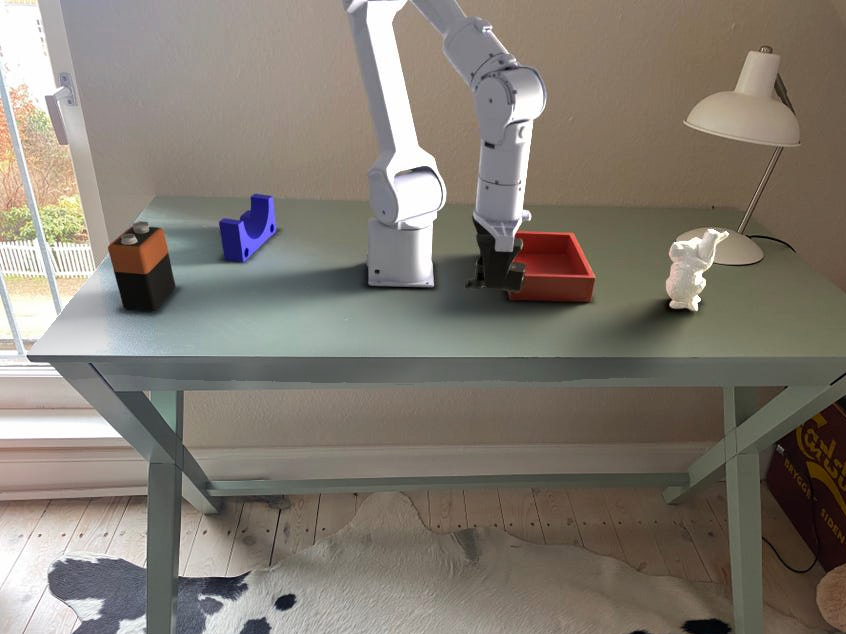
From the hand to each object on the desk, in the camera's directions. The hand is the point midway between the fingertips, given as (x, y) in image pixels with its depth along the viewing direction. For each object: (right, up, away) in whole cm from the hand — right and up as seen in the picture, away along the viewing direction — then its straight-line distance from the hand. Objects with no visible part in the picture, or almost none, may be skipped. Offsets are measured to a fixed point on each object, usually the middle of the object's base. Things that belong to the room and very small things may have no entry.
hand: (491, 278), depth 87 cm
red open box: (+8, +2, +16) cm, 18 cm away
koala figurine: (+29, -3, +12) cm, 31 cm away
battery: (-46, -3, +2) cm, 46 cm away
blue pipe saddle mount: (-38, +7, +17) cm, 43 cm away
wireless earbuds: (0, -1, 0) cm, 1 cm away
